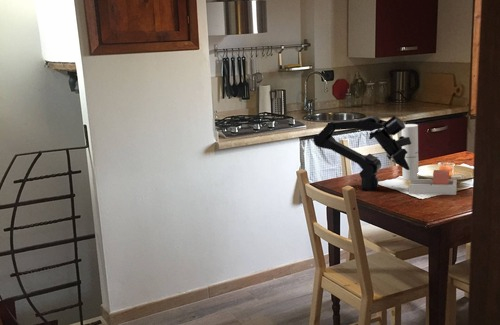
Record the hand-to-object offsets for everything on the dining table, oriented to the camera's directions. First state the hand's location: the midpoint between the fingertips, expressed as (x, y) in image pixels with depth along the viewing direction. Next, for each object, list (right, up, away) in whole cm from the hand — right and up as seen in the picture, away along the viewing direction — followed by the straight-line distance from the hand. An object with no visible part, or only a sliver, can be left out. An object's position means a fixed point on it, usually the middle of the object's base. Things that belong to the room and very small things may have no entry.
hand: (408, 169), depth 223 cm
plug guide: (+9, -9, -1) cm, 13 cm away
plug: (+13, -9, -3) cm, 16 cm away
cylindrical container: (+7, -4, +20) cm, 21 cm away
